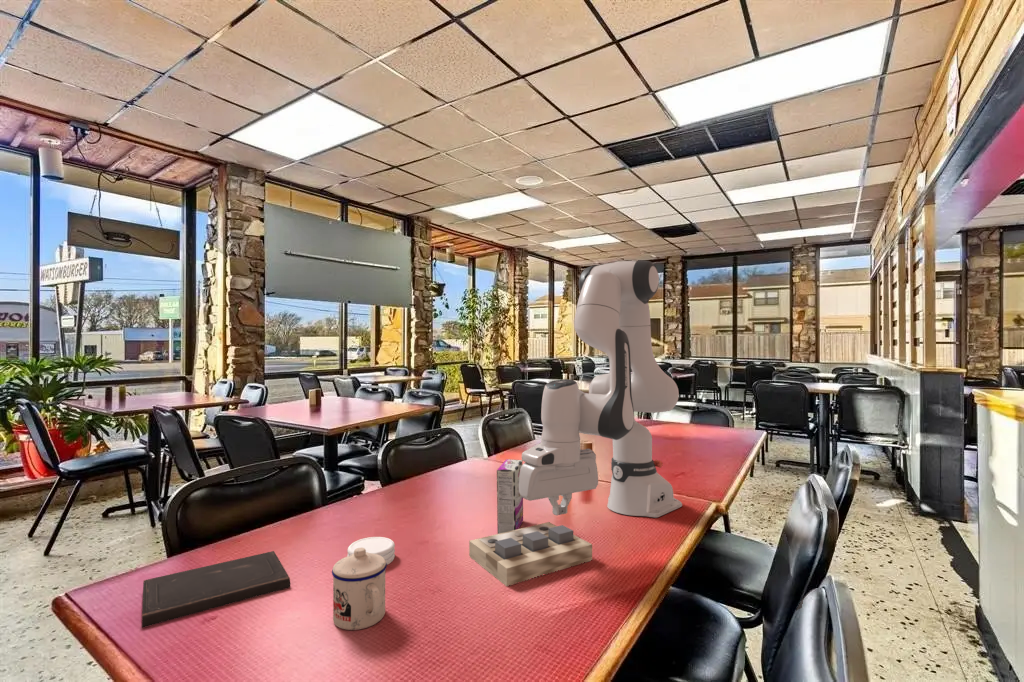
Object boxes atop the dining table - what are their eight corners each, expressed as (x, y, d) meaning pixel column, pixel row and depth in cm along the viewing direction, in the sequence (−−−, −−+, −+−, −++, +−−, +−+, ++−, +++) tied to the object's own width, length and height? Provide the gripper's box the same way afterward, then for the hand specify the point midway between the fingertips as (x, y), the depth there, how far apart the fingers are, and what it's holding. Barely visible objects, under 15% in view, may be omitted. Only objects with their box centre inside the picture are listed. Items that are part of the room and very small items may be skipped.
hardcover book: (143, 592, 94) (143, 580, 94) (273, 561, 108) (273, 550, 108) (141, 631, 81) (141, 617, 81) (290, 590, 95) (290, 578, 95)
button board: (548, 536, 120) (548, 520, 120) (592, 560, 107) (592, 542, 107) (469, 556, 109) (469, 539, 109) (506, 586, 95) (506, 566, 95)
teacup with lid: (323, 615, 85) (324, 548, 85) (373, 597, 91) (373, 535, 91) (350, 647, 76) (351, 572, 76) (403, 625, 82) (403, 556, 82)
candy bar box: (505, 519, 132) (505, 458, 132) (523, 520, 131) (523, 459, 131) (495, 535, 121) (495, 468, 121) (515, 536, 120) (515, 469, 120)
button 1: (511, 551, 105) (511, 537, 105) (521, 558, 102) (521, 544, 102) (495, 555, 103) (495, 541, 103) (504, 562, 100) (504, 548, 100)
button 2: (562, 538, 113) (562, 525, 113) (573, 544, 109) (573, 530, 109) (548, 541, 110) (548, 528, 110) (559, 547, 107) (559, 534, 107)
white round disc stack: (403, 554, 110) (403, 539, 110) (377, 574, 101) (377, 557, 101) (365, 548, 113) (366, 533, 113) (337, 567, 104) (337, 550, 104)
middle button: (537, 544, 109) (537, 531, 109) (548, 550, 105) (548, 537, 105) (522, 548, 107) (522, 534, 107) (533, 555, 103) (533, 541, 103)
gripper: (586, 445, 118) (586, 503, 118) (515, 454, 107) (514, 517, 107) (604, 450, 113) (604, 510, 112) (531, 459, 102) (530, 526, 101)
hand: (559, 513), depth 109 cm, fingers closed
